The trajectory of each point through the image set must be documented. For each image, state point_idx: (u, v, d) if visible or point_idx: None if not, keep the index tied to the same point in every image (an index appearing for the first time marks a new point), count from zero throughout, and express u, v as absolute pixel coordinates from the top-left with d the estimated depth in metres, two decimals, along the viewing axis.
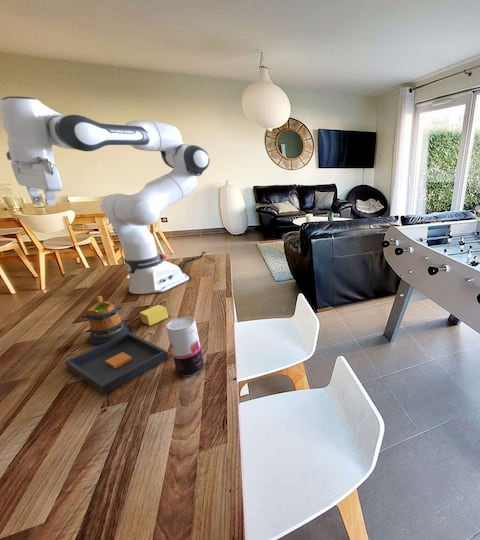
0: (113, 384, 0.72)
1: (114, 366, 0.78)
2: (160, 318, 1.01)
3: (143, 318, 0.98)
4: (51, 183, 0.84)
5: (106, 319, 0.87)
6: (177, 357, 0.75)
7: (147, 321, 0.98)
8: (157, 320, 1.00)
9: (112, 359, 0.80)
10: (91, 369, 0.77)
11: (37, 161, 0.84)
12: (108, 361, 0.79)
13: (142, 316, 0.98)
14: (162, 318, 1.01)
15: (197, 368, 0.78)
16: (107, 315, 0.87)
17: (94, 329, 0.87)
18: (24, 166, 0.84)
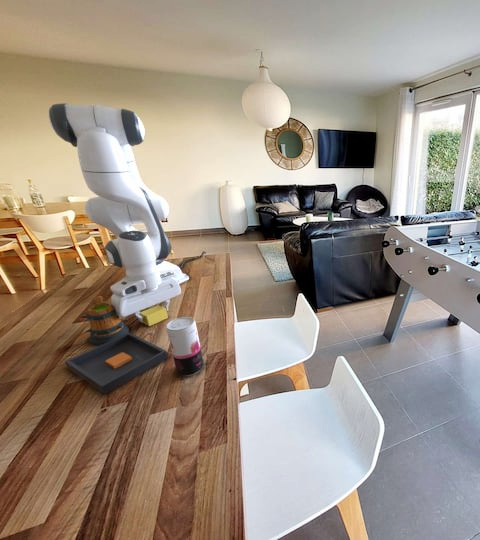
0: (113, 384, 0.72)
1: (114, 366, 0.78)
2: (160, 319, 1.00)
3: None
4: None
5: (106, 319, 0.87)
6: (177, 357, 0.75)
7: (146, 322, 0.98)
8: (157, 321, 1.00)
9: (112, 359, 0.80)
10: (91, 369, 0.77)
11: None
12: (108, 361, 0.79)
13: None
14: (161, 319, 1.01)
15: (197, 368, 0.78)
16: (107, 315, 0.87)
17: (94, 329, 0.87)
18: (156, 288, 0.96)
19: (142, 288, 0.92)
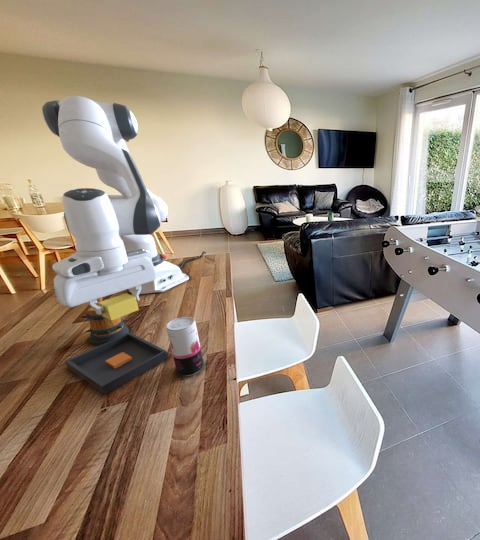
0: (113, 384, 0.72)
1: (114, 366, 0.78)
2: (127, 311, 0.75)
3: None
4: None
5: (106, 319, 0.87)
6: (177, 357, 0.75)
7: (107, 315, 0.72)
8: (122, 313, 0.75)
9: (112, 359, 0.80)
10: (91, 369, 0.77)
11: None
12: (108, 361, 0.79)
13: None
14: (129, 311, 0.76)
15: (197, 368, 0.78)
16: None
17: (94, 329, 0.87)
18: (120, 269, 0.72)
19: (98, 267, 0.67)
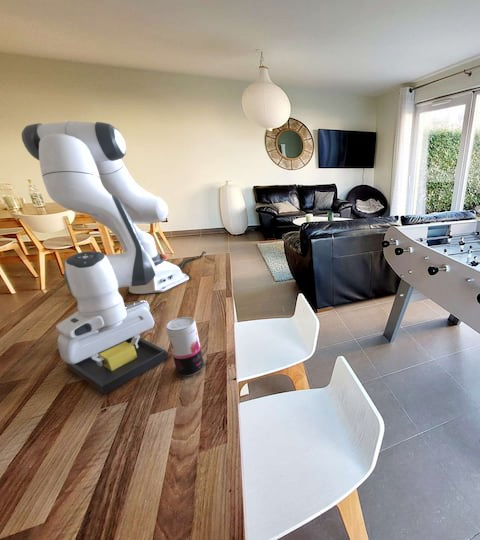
0: (113, 384, 0.72)
1: None
2: (126, 360, 0.80)
3: None
4: None
5: None
6: (177, 357, 0.75)
7: (108, 366, 0.77)
8: (122, 363, 0.79)
9: None
10: (91, 369, 0.77)
11: None
12: None
13: None
14: (129, 360, 0.80)
15: (197, 368, 0.78)
16: None
17: None
18: (119, 323, 0.76)
19: (99, 326, 0.71)
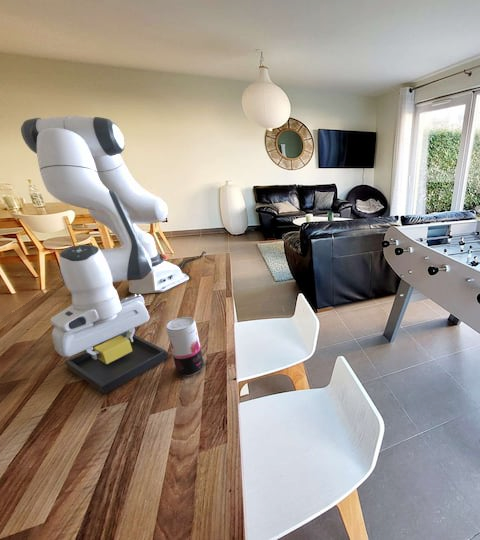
0: (113, 384, 0.72)
1: None
2: (121, 353, 0.80)
3: None
4: None
5: None
6: (177, 357, 0.75)
7: (103, 359, 0.78)
8: (117, 356, 0.80)
9: None
10: (91, 369, 0.77)
11: None
12: None
13: None
14: (124, 354, 0.81)
15: (197, 368, 0.78)
16: None
17: None
18: (114, 317, 0.76)
19: (93, 319, 0.71)
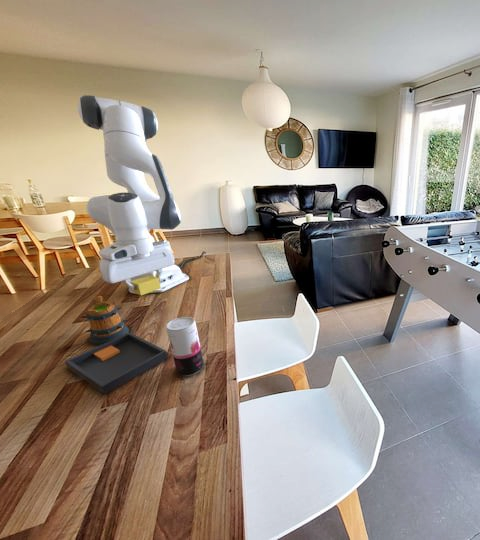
0: (113, 384, 0.72)
1: (102, 358, 0.80)
2: (152, 288, 0.96)
3: None
4: None
5: (106, 319, 0.87)
6: (177, 357, 0.75)
7: (138, 291, 0.93)
8: (149, 290, 0.95)
9: (100, 352, 0.82)
10: (91, 369, 0.77)
11: None
12: (96, 354, 0.81)
13: None
14: (154, 289, 0.96)
15: (197, 368, 0.78)
16: (107, 315, 0.87)
17: (94, 329, 0.87)
18: (148, 255, 0.92)
19: (133, 253, 0.87)
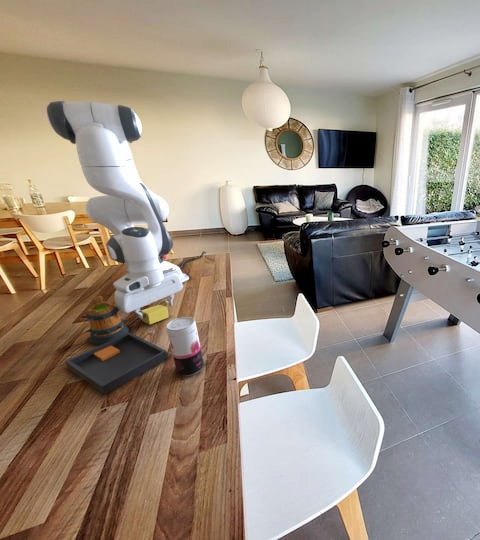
0: (113, 384, 0.72)
1: (102, 358, 0.80)
2: (160, 317, 1.00)
3: None
4: None
5: (106, 319, 0.87)
6: (177, 357, 0.75)
7: (147, 320, 0.98)
8: (157, 319, 1.00)
9: (100, 352, 0.82)
10: (91, 369, 0.77)
11: None
12: (96, 354, 0.81)
13: None
14: (162, 318, 1.01)
15: (197, 368, 0.78)
16: (107, 315, 0.87)
17: (94, 329, 0.87)
18: (159, 284, 0.97)
19: (145, 284, 0.92)
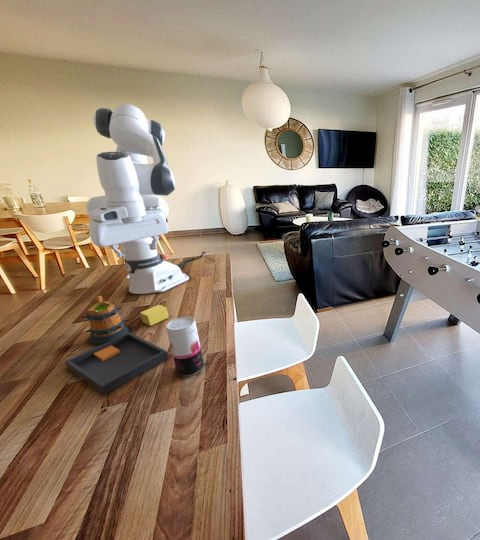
0: (113, 384, 0.72)
1: (102, 358, 0.80)
2: (161, 318, 1.01)
3: (144, 318, 0.98)
4: None
5: (106, 319, 0.87)
6: (177, 357, 0.75)
7: (147, 321, 0.98)
8: (158, 320, 1.00)
9: (100, 352, 0.82)
10: (91, 369, 0.77)
11: None
12: (96, 354, 0.81)
13: (143, 316, 0.98)
14: (162, 319, 1.01)
15: (197, 368, 0.78)
16: (107, 315, 0.87)
17: (94, 329, 0.87)
18: (140, 219, 0.88)
19: (124, 216, 0.83)
